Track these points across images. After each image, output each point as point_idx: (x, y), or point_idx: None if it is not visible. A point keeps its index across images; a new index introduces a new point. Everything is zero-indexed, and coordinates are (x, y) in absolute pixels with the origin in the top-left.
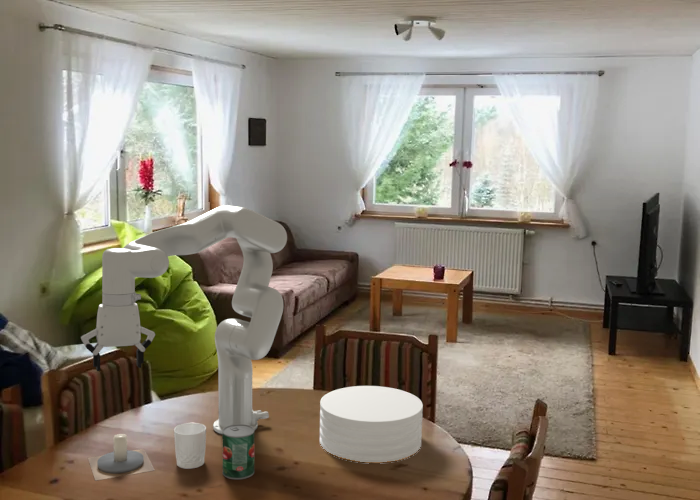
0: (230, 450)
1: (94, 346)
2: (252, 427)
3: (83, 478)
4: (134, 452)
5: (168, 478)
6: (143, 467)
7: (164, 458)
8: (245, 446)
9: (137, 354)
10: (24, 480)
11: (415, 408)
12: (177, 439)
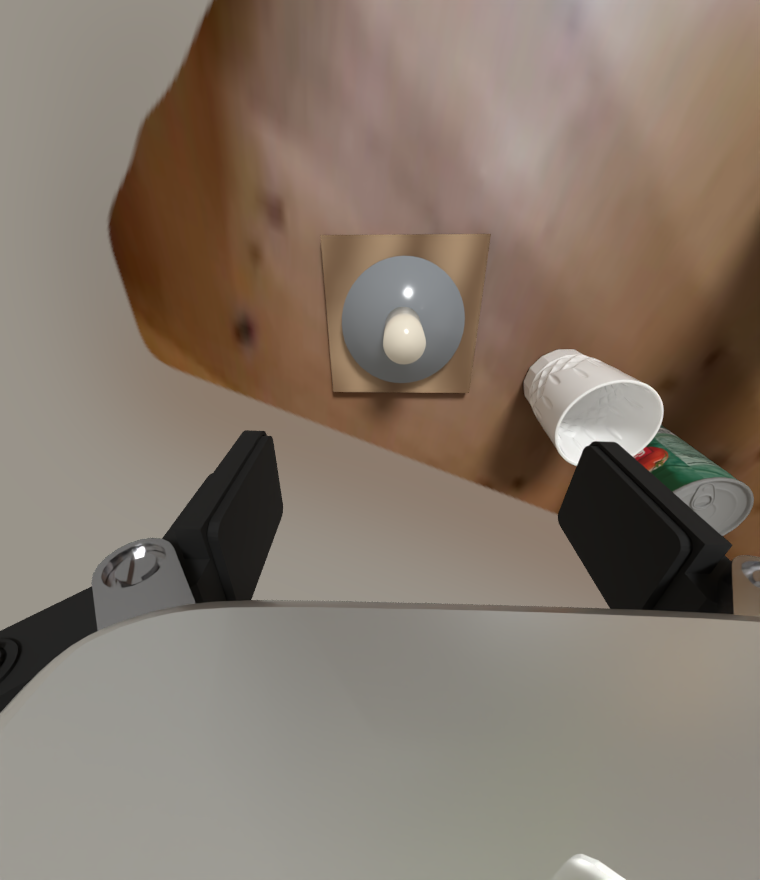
0: None
1: (104, 627)
2: (747, 513)
3: (310, 345)
4: (448, 291)
5: (485, 418)
6: (449, 367)
7: (522, 306)
8: None
9: (626, 571)
10: (170, 298)
11: None
12: (548, 433)
